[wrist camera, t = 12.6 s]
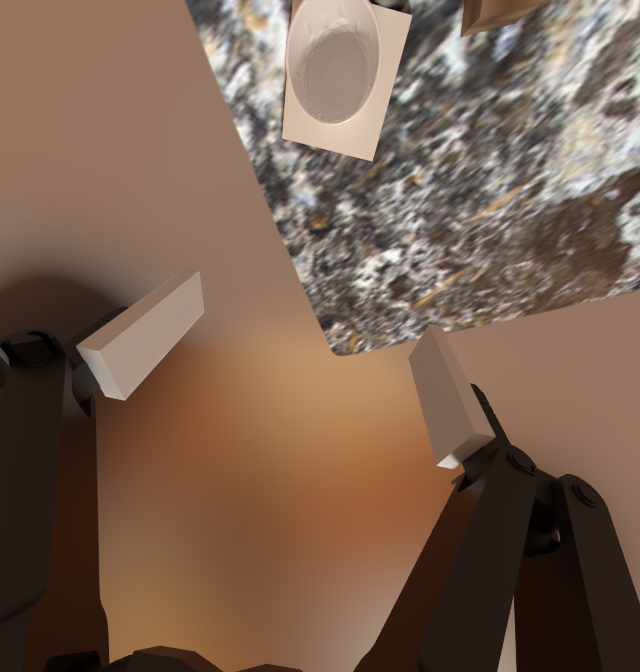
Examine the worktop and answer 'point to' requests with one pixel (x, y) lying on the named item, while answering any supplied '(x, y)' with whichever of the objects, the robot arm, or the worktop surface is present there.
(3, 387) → the robot arm
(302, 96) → the white cup
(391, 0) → the grey tin
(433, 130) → the worktop surface
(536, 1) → the walnut block
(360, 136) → the tile
